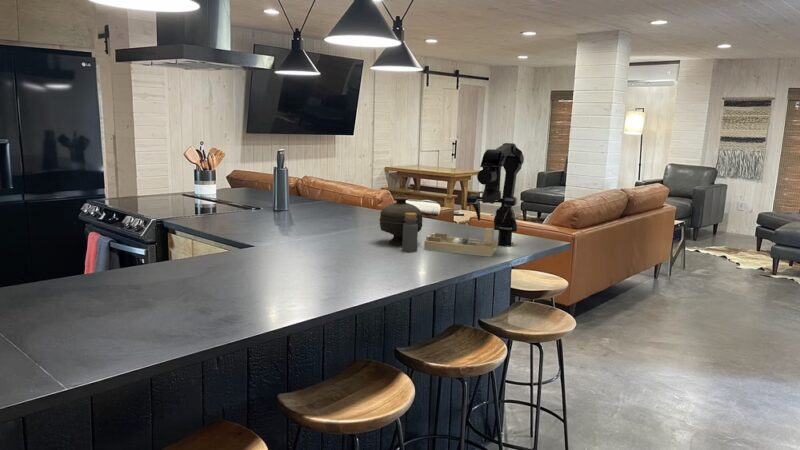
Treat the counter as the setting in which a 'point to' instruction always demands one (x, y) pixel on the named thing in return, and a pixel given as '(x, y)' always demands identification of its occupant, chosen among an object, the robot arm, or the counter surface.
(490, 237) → the tan and grey block
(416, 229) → the bottle
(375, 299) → the counter surface
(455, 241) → the ball
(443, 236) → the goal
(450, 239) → the pitch
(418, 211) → the pot
